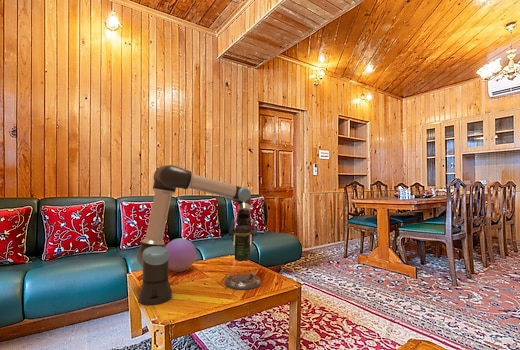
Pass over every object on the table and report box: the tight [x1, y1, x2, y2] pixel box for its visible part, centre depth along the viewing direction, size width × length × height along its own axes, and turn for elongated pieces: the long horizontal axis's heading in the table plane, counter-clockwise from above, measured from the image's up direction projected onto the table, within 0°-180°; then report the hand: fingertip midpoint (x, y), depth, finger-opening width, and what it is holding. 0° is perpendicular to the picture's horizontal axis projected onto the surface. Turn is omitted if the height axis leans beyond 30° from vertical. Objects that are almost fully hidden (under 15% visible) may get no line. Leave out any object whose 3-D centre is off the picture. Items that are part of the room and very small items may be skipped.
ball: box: [164, 237, 197, 273], centre depth 177 cm, size 20×20×20 cm
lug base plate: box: [224, 272, 262, 291], centre depth 157 cm, size 20×20×3 cm
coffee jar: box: [234, 225, 251, 262], centre depth 157 cm, size 10×8×19 cm
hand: (242, 246), depth 153 cm, fingers closed on coffee jar, 8 cm apart
